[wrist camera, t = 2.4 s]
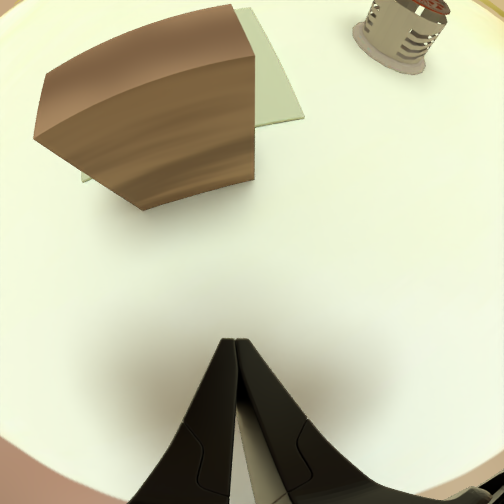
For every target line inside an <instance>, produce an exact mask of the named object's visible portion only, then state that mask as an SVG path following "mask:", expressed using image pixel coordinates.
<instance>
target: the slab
mask: <svg viewBox="0 0 504 504" xmlns="http://www.w3.org/2000/svg"><path fill="white" fill-rule="evenodd" d="M33 139H34V140H35V141H37V142H38V143H40V144H41V145H43V146H44V147H46V148H47V149H49V150H50V151H52V152H53V153H55V154H56V155H58V156H59V157H61V158H62V159H64V160H65V161H67V162H68V163H70V164H71V165H73V166H74V167H76V168H77V169H79V170H80V171H82V172H83V173H85V174H86V175H88V176H89V177H91V178H93V179H94V180H96V181H97V182H99V183H100V184H102V185H103V186H105V187H106V188H108V189H110V190H111V191H113V192H114V193H116V194H117V195H119V196H121V197H122V198H124V199H125V200H127V201H128V202H130V203H132V204H133V205H135V206H136V207H138V208H139V209H141V210H143V211H144V210H147V209H150V208H153V207H156V206H160V205H163V204H166V203H169V202H173V201H176V200H179V199H183V198H186V197H190V196H193V195H197V194H200V193H204V192H208V191H211V190H215V189H219V188H223V187H226V186H230V185H234V184H238V183H242V182H246V181H250V180H254V172H255V54H254V51H253V49H252V47H251V45H250V43H249V40H248V38H247V36H246V34H245V32H244V30H243V27H242V25H241V23H240V21H239V19H238V17H237V15H236V13H235V11H234V9H233V7H232V5H231V4H228V5H222V6H217V7H211V8H206V9H202V10H197V11H193V12H189V13H185V14H181V15H178V16H174V17H170V18H167V19H164V20H161V21H157V22H154V23H151V24H148V25H146V26H143V27H140V28H137V29H135V30H132V31H129V32H127V33H124V34H122V35H120V36H117V37H115V38H112V39H110V40H108V41H106V42H104V43H101V44H99V45H97V46H95V47H93V48H91V49H89V50H87V51H85V52H83V53H81V54H79V55H78V56H76V57H74V58H72V59H70V60H69V61H67V62H65V63H63V64H62V65H60V66H58V67H57V68H55V69H53V70H52V71H50V72H49V73H47V74H46V76H45V80H44V84H43V88H42V92H41V97H40V101H39V106H38V111H37V117H36V123H35V129H34V136H33Z"/></svg>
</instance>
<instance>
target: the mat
mask: <svg viewBox="0 0 504 504" xmlns="http://www.w3.org/2000/svg"><path fill="white" fill-rule="evenodd" d="M234 11H235V13H236V15H237V17H238V19H239V21H240V23H241V25H242V27H243V30H244V32H245V34H246V36H247V38H248V40H249V43H250V45H251V47H252V49H253V51H254V54H255V127H259V126H264V125H269V124H274V123H280V122H285V121H291V120H297V119H304V117H305V116H304V114H303V111H302V109H301V107H300V104H299V102H298V100H297V97H296V95H295V93H294V91H293V88H292V86H291V84H290V82H289V80H288V78H287V75H286V73H285V71H284V69H283V67H282V65H281V63H280V61H279V59H278V57H277V55H276V53H275V51H274V49H273V47H272V45H271V43H270V41H269V39H268V37H267V36H266V34H265V32H264V30H263V28H262V26H261V24H260V23H259V21H258V19H257V17H256V16H255V14H254V12H253V10H252V9H251V7H249V8H241V9H235V10H234ZM81 178H82V182H85V181H88V180H90V179H92V178H91V177H89V176H88V175H86V174H85V173H83V172H82V171H81Z"/></svg>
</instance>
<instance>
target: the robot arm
mask: <svg viewBox="0 0 504 504" xmlns="http://www.w3.org/2000/svg"><path fill="white" fill-rule="evenodd" d="M236 413H237V418H238V424H239V429H240V434H241V439H242V444H243V449H244V453H245V458H246V463H247V467H248V472H249V476H250V481H251V485H252V490H253V494H254V498H255V502H256V504H504V469H503V470H502V471H500V472H499V473H497V474H496V475H494V476H493V477H491V478H490V479H488V480H486V481H485V482H483V483H482V484H480V485H479V486H477V487H474V486H471V487H468V488H466V489H464V490H462V491H461V492H459V493H457V494H455V495H453V496H451V497H449V498H447V499H445V500H435V499H431V498H426V497H421V496H417V495H413V494H409V493H406V492H402V491H398V490H395V489H391V488H388V487H385V486H383V485H380V484H378V483H376V482H375V481H373V480H371V479H370V478H369V477H367V476H366V475H365V474H364V473H362V472H361V471H360V470H359V469H358V468H357V467H356V466H354V465H353V464H352V463H351V462H350V461H349V460H348V459H346V458H345V457H344V456H343V455H342V454H341V453H340V452H339V451H338V450H337V449H336V448H334V447H333V446H332V445H331V444H330V443H329V442H328V441H327V440H326V439H325V437H324V436H323V435H322V434H321V433H320V432H319V431H318V429H317V428H316V427H315V426H314V425H313V423H312V422H311V421H310V420H309V419H307V416H306V415H305V413H304V412H303V411H302V410H301V408H300V407H299V406H298V404H297V403H296V402H295V401H294V399H293V398H292V397H291V395H290V394H289V393H288V392H287V390H286V389H285V388H284V386H283V385H282V384H281V382H280V381H279V380H278V378H277V377H276V376H275V374H274V373H273V372H272V370H271V369H270V368H269V366H268V365H267V363H266V362H265V361H264V359H263V358H262V357H261V355H260V354H259V353H258V351H257V350H256V348H255V347H254V346H253V344H252V343H251V341H250V340H249V339H247V338H237V339H235V340H234V339H233V338H222V339H221V340H220V342H219V344H218V346H217V349H216V351H215V353H214V355H213V357H212V359H211V361H210V363H209V366H208V368H207V370H206V372H205V374H204V376H203V378H202V380H201V383H200V385H199V387H198V389H197V391H196V393H195V395H194V397H193V399H192V401H191V404H190V406H189V408H188V410H187V412H186V414H185V416H184V418H183V420H182V421H183V422H182V423H181V424H180V426H179V428H178V430H177V432H176V434H175V436H174V438H173V440H172V442H171V444H170V445H169V447H168V449H167V450H166V452H165V453H164V455H163V457H162V458H161V460H160V461H159V463H158V464H157V465H156V467H155V468H154V470H153V471H152V472H151V474H150V475H149V476H148V478H147V479H146V481H145V482H144V483H143V485H142V486H141V487H140V489H139V490H138V491H137V493H136V494H135V495H134V496H133V497H132V499H131V500H130V501H129V502H128V503H127V504H229V500H230V499H229V497H230V485H231V471H232V457H233V443H234V429H235V416H236ZM306 419H307V420H306Z"/></svg>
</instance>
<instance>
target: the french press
mask: <svg viewBox="0 0 504 504" xmlns="http://www.w3.org/2000/svg"><path fill="white" fill-rule="evenodd" d="M374 1H375V2H374ZM374 1H373V3H372V6H371V8H372V9H371V8H370V11H369V13H368V15H369V16H368V15H367V18H366V20H365V22H361V23H358V24H357V25H356V26H354V27H353V37H354V39H355V40H356V42H357V44H358V45H359V47H360V48H362V49H363V50H364V51H365V52H366V53H367V54H368V55H369V56H370V57H372V58H373V59H375V60H376V61H378V62H379V63H381V64H383V65H384V66H386V67H388V68H391V69H393V70H395V71H398V72H400V73H405V74H411V75H415V74H419V73H422V72H423V70H424V68H425V66H426V65H425V61H424V55H425V54H426V52H427V51H428V49H427V47H429V48H430V46H431V45H432V44H433V42H432V43H431V41H432V40H434V41H435V39H436V38H437V37H438V35H437V36H436V35H435V34H437V33H438V34H440V32H441V31H442V30H443V28H444V27H445V25H446V23H447V19H446V16H445V15H448V14H450V9H449V7H448V5H447V4H446V3H445V2H444V1H443V0H374ZM374 4H377V5H378V6H375V7H374ZM419 5H421V6H423V7H425V9H424V11H423V12H422V14H421V16H419V15H417V14H415V11H416V10H417V8H418V6H419ZM377 9H379V11H378V10H377ZM371 11H372V12H373V13H372V14H370V12H371ZM438 22H439V23H441V24H437V23H438ZM411 29H412V31H411V32H410V30H411ZM409 32H410V33H409ZM429 35H430V36H431V37H432V38H430V39H428V36H429ZM426 42H427V43H428V44H427V45H424V43H426Z"/></svg>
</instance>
